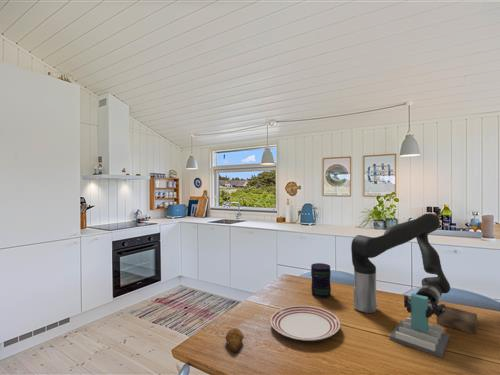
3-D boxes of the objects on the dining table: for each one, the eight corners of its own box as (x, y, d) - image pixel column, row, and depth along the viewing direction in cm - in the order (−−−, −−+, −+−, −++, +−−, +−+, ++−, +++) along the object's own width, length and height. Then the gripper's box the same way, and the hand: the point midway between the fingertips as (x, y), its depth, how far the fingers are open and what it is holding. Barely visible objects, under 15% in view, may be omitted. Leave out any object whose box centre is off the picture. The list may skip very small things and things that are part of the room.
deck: (436, 323, 110) (436, 313, 110) (441, 314, 117) (440, 305, 117) (475, 334, 102) (474, 323, 101) (477, 323, 109) (477, 313, 109)
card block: (411, 327, 100) (410, 295, 100) (413, 325, 102) (412, 293, 102) (427, 332, 97) (426, 299, 97) (428, 329, 99) (427, 297, 98)
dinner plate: (262, 340, 101) (261, 331, 101) (279, 308, 126) (279, 301, 126) (339, 354, 91) (339, 344, 91) (341, 316, 117) (341, 309, 117)
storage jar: (310, 290, 146) (310, 262, 146) (329, 291, 145) (328, 263, 145) (312, 298, 136) (311, 268, 136) (332, 298, 135) (331, 269, 135)
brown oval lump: (226, 333, 106) (226, 320, 106) (243, 332, 106) (243, 319, 106) (224, 355, 92) (224, 340, 92) (244, 354, 92) (243, 339, 92)
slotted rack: (389, 339, 99) (389, 330, 99) (401, 323, 110) (401, 315, 110) (442, 357, 88) (442, 347, 88) (449, 337, 99) (449, 329, 99)
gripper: (407, 283, 115) (395, 296, 102) (449, 292, 105) (441, 308, 92) (408, 301, 115) (396, 316, 102) (449, 311, 105) (442, 329, 92)
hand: (417, 312), depth 97 cm, fingers closed on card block, 5 cm apart
